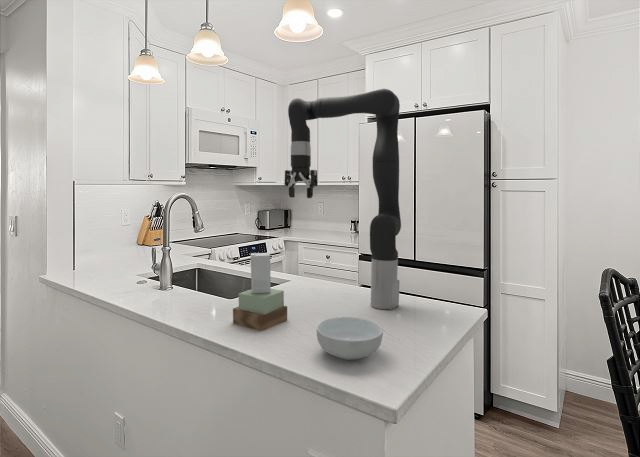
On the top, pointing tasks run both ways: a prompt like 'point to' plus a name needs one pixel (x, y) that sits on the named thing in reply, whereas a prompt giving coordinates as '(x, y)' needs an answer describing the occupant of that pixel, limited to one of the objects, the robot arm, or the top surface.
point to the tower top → (261, 301)
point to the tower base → (259, 318)
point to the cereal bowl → (349, 337)
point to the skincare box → (260, 273)
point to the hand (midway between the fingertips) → (300, 197)
